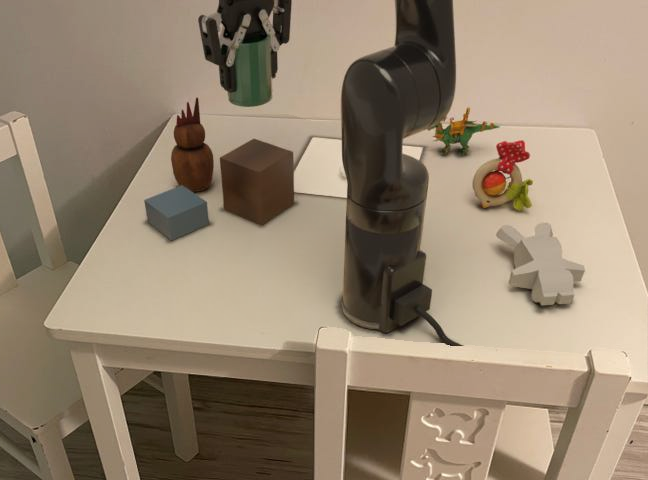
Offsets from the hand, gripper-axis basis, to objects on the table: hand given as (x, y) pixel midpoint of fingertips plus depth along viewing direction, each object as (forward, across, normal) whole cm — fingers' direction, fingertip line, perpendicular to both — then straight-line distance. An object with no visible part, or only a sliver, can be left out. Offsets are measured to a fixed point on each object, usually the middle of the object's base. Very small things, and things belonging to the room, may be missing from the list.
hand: (249, 83), depth 104 cm
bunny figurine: (+20, +18, -40) cm, 48 cm away
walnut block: (+20, +1, 0) cm, 20 cm away
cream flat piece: (+20, +21, -1) cm, 29 cm away
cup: (+2, 0, 0) cm, 2 cm away
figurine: (+20, +38, -9) cm, 44 cm away
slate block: (+20, -12, +5) cm, 24 cm away
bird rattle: (+20, +29, -25) cm, 43 cm away
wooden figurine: (+20, -3, +12) cm, 24 cm away
